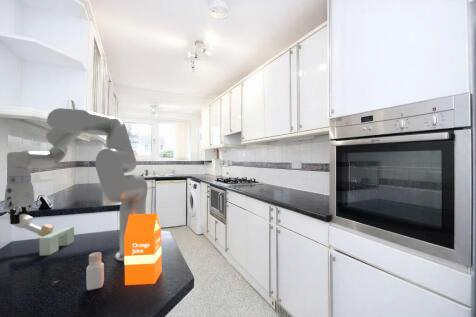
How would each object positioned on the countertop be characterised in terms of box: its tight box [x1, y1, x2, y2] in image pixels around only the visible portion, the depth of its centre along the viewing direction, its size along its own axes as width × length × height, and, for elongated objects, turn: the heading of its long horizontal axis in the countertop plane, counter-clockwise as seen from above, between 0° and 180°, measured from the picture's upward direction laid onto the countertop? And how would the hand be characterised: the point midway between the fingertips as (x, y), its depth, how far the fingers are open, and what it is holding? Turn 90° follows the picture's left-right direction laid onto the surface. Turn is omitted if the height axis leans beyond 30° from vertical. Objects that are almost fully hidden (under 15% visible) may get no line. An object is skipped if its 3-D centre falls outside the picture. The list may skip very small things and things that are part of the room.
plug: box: [11, 214, 55, 237], centre depth 100 cm, size 14×4×4 cm, turn 95°
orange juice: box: [123, 213, 163, 286], centre depth 72 cm, size 8×9×20 cm
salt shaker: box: [85, 251, 105, 291], centre depth 68 cm, size 4×4×10 cm
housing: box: [38, 226, 75, 256], centre depth 101 cm, size 4×16×7 cm, turn 6°
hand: (19, 222), depth 99 cm, fingers closed on plug, 4 cm apart
